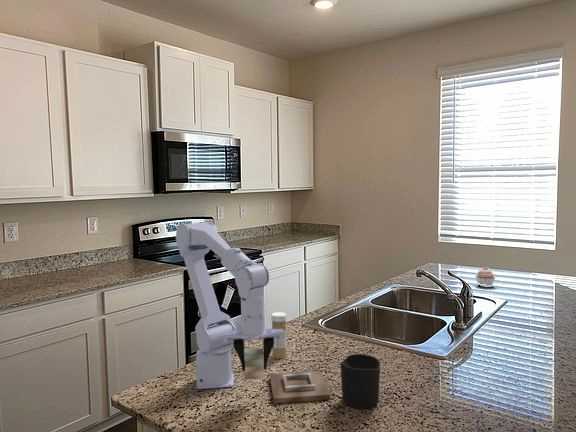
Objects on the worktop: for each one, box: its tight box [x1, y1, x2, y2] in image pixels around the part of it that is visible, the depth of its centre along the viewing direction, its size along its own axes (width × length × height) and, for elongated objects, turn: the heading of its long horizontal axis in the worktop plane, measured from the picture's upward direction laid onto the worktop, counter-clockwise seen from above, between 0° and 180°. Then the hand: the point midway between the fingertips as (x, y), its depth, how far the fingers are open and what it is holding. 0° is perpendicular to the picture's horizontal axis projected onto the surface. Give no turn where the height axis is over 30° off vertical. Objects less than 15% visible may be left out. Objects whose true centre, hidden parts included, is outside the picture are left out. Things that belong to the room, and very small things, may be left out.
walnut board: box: [269, 370, 331, 404], centre depth 117 cm, size 14×14×2 cm
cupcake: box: [475, 266, 496, 286], centre depth 222 cm, size 9×9×10 cm
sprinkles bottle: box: [271, 311, 288, 360], centre depth 138 cm, size 5×5×14 cm
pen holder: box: [340, 353, 381, 410], centre depth 109 cm, size 9×9×10 cm
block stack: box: [244, 346, 265, 380], centre depth 110 cm, size 4×4×6 cm
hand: (254, 368), depth 110 cm, fingers closed on block stack, 4 cm apart
